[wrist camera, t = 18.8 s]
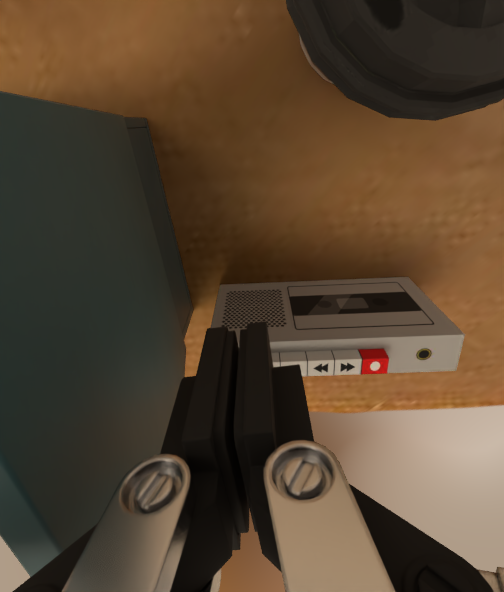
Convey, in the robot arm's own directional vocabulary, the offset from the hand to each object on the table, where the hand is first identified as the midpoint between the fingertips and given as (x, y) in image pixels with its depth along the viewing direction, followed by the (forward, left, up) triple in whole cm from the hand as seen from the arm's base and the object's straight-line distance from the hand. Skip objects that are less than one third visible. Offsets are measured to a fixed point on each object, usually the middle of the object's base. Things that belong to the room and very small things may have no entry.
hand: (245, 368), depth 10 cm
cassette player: (+4, -8, -20) cm, 21 cm away
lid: (-5, 0, -4) cm, 7 cm away
